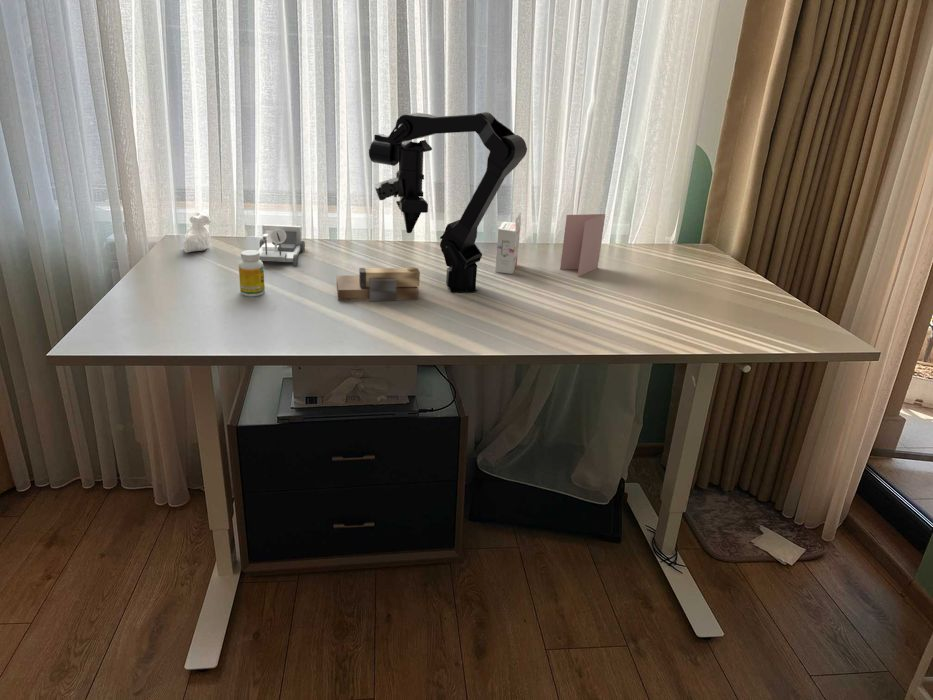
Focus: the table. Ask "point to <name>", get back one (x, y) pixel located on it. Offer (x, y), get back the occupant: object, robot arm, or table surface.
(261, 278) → the supplement bottle
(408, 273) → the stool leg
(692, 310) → the table surface
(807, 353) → the table surface
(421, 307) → the table surface
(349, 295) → the brown wooden block
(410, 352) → the table surface
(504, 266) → the ink cartridge box
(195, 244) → the white tied sack
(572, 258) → the greeting card
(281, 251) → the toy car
